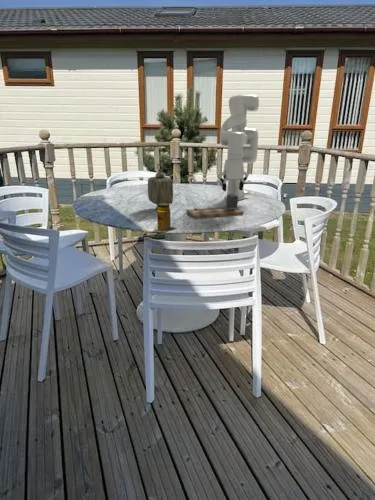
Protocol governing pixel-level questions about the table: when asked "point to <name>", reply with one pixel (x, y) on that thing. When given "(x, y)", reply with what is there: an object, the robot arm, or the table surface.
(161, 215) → the condiment
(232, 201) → the fader slider
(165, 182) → the tabletop clock
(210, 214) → the fader board
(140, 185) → the table surface
